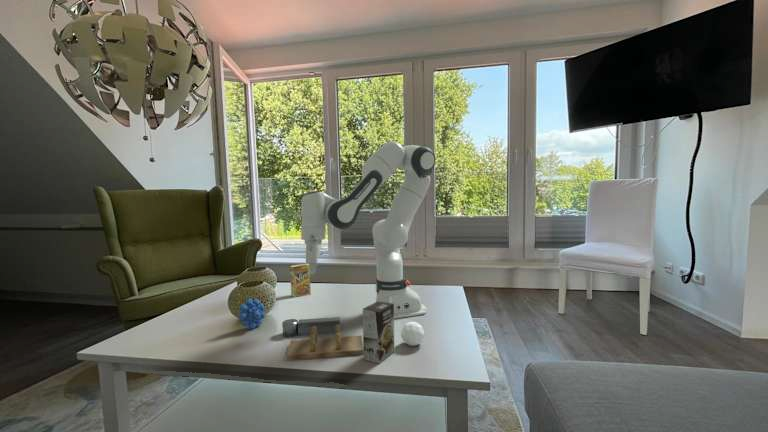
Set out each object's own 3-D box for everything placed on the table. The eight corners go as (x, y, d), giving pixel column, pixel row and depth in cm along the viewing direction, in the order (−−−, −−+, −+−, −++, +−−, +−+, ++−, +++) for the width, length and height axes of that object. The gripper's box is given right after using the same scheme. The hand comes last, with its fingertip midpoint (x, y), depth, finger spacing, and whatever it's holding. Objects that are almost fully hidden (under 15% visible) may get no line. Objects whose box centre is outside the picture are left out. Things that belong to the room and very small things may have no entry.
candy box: (294, 297, 174) (292, 266, 172) (290, 295, 177) (289, 265, 176) (310, 294, 179) (309, 264, 177) (307, 292, 182) (306, 262, 181)
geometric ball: (419, 353, 119) (429, 339, 115) (397, 347, 118) (406, 333, 113) (418, 334, 125) (427, 320, 121) (397, 328, 124) (406, 314, 120)
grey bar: (340, 327, 135) (339, 316, 135) (339, 333, 130) (339, 321, 130) (284, 331, 133) (283, 319, 133) (281, 337, 127) (281, 325, 127)
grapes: (247, 336, 129) (245, 304, 128) (235, 332, 133) (233, 301, 132) (272, 325, 139) (271, 295, 138) (261, 322, 142) (259, 293, 141)
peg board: (361, 339, 124) (360, 321, 124) (363, 354, 113) (362, 334, 113) (291, 344, 121) (290, 326, 121) (286, 360, 110) (285, 340, 110)
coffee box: (380, 364, 107) (379, 312, 106) (362, 359, 110) (361, 308, 109) (395, 351, 115) (394, 303, 113) (378, 347, 118) (377, 300, 117)
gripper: (319, 238, 122) (320, 277, 123) (323, 231, 142) (323, 265, 143) (301, 238, 121) (301, 278, 122) (307, 231, 142) (307, 265, 143)
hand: (313, 270), depth 133 cm, fingers open, 8 cm apart
